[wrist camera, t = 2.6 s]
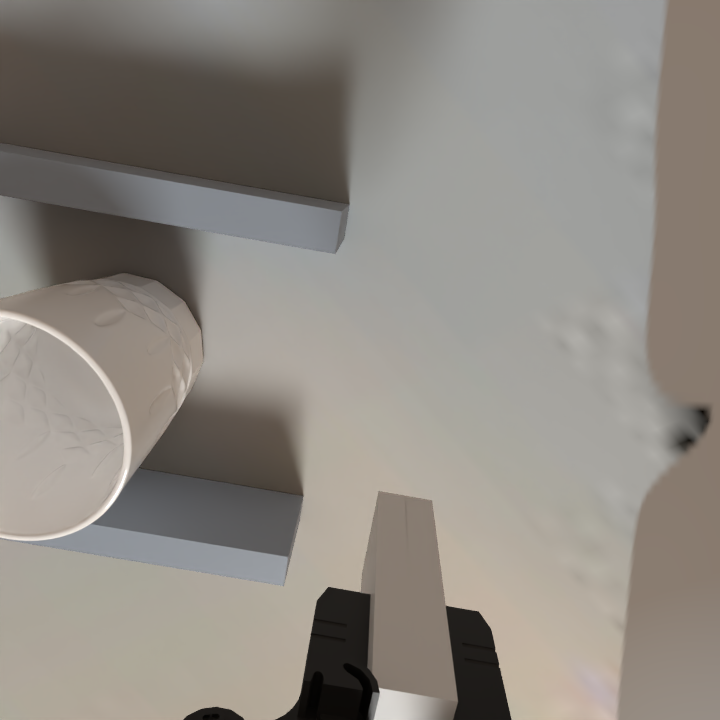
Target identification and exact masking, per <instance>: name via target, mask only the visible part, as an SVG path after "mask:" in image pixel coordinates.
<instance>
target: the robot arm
mask: <svg viewBox="0 0 720 720" xmlns="http://www.w3.org/2000/svg"><path fill="white" fill-rule="evenodd" d="M184 720H244V719H243V717H241V716H239V715H238V714H236V713H235V712H233V711H232V710H229V709H224V708H219V707H212V708H204V709H200V710H198V711H196V712H194V713H192V714H190V715H188V716H186V718H185V719H184ZM276 720H511V716H510V711H509V707H508V702H507V698H506V693H505V689H504V685H503V680H502V676H501V671H500V668H499V662H498V658H497V653H496V652H495V644H494V640H493V635H492V631H491V629H490V627H489V626H488V624H487V623H486V621H485V620H484V619H483V617H482V616H481V614H480V613H479V612H478V611H472V610H466V609H460V608H455V607H449V606H446V605H445V597H444V589H443V582H442V574H441V566H440V559H439V551H438V543H437V535H436V528H435V520H434V512H433V505H432V500H426V499H421V498H415V497H409V496H403V495H398V494H392V493H386V492H381V491H379V492H378V497H377V502H376V507H375V512H374V517H373V522H372V527H371V532H370V537H369V542H368V547H367V552H366V557H365V561H364V566H363V571H362V583H361V593H360V592H354V591H348V590H343V589H337V588H331V587H328V588H327V589H326V591H325V592H324V593H323V594H322V595H321V597H320V598H319V599H318V600H317V603H316V609H315V615H314V620H313V626H312V632H311V637H310V643H309V648H308V654H307V660H306V666H305V672H304V677H303V683H302V689H301V694H300V697H299V700H298V701H297V703H296V704H295V706H294V707H293V708H292V709H291V710H290V711H289V712H288V713H287V714H285V715H284V716H282V717H280V718H278V719H276Z"/></svg>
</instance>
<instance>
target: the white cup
mask: <svg viewBox="0 0 720 720" xmlns="http://www.w3.org/2000/svg"><path fill="white" fill-rule="evenodd" d="M202 364H203V349H202V336H201V329H200V328H199V326H198V324H197V322H196V320H195V319H194V317H193V315H192V313H191V312H190V310H189V308H188V306H187V304H186V303H185V301H184V300H182V299H181V298H180V297H178V296H177V295H176V294H174V293H173V292H172V291H170V290H169V289H168V288H166V287H165V286H164V285H162V284H161V283H160V282H158V281H157V280H153V279H148V278H144V277H140V276H136V275H132V274H127V273H120V274H116V275H111V276H107V277H102V278H98V279H93V280H77V281H73V282H69V283H63V284H58V285H54V286H50V287H45V288H39V289H35V290H31V291H27V292H24V293H20V294H16V295H13V296H9V297H5V298H1V299H0V538H5V539H11V540H21V541H39V540H48V539H54V538H59V537H62V536H66V535H69V534H72V533H74V532H76V531H79V530H81V529H83V528H85V527H86V526H88V525H90V524H91V523H93V522H94V521H95V520H97V519H98V518H99V517H101V516H102V515H103V514H104V513H105V512H106V511H107V510H108V509H109V508H110V507H111V505H112V504H113V503H114V502H115V500H116V499H117V497H118V496H119V494H120V493H121V492H122V490H123V489H124V487H125V486H126V485H127V483H128V482H129V480H130V479H131V478H132V476H133V475H134V473H135V472H136V471H137V469H138V468H139V466H140V465H141V464H142V462H143V461H144V460H145V458H146V457H147V455H148V454H149V453H150V451H151V450H152V449H153V447H154V446H155V444H156V443H157V442H158V440H159V439H160V437H161V436H162V435H163V433H164V432H165V430H166V429H167V427H168V425H169V424H170V422H171V421H172V419H173V418H174V416H175V415H176V413H177V412H178V410H179V408H180V407H181V405H182V403H183V401H184V399H185V397H186V396H187V395H188V393H189V392H190V391H191V389H192V387H193V385H194V383H195V380H196V378H197V376H198V373H199V371H200V369H201V366H202Z"/></svg>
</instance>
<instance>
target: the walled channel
mask: <svg viewBox="0 0 720 720" xmlns="http://www.w3.org/2000/svg"><path fill="white" fill-rule="evenodd" d="M0 195H2V196H8V197H13V198H19V199H25V200H31V201H36V202H42V203H48V204H53V205H59V206H65V207H71V208H76V209H82V210H88V211H93V212H99V213H105V214H111V215H116V216H122V217H128V218H133V219H139V220H145V221H150V222H156V223H162V224H168V225H173V226H179V227H185V228H190V229H196V230H202V231H208V232H213V233H219V234H225V235H230V236H236V237H242V238H248V239H253V240H259V241H265V242H270V243H276V244H282V245H287V246H293V247H299V248H305V249H310V250H316V251H322V252H327V253H333V254H336V252H337V250H338V248H339V247H340V245H341V243H342V242H343V240H344V236H345V230H346V224H347V217H348V211H349V205H350V204H345V203H339V202H333V201H328V200H322V199H316V198H311V197H305V196H299V195H294V194H288V193H282V192H277V191H271V190H265V189H260V188H254V187H248V186H243V185H237V184H231V183H226V182H220V181H214V180H209V179H203V178H197V177H192V176H186V175H180V174H175V173H169V172H163V171H158V170H152V169H146V168H141V167H135V166H129V165H124V164H118V163H112V162H107V161H101V160H95V159H90V158H84V157H78V156H73V155H67V154H61V153H56V152H50V151H44V150H39V149H33V148H27V147H22V146H16V145H10V144H5V143H0ZM302 502H303V496H300V495H294V494H288V493H283V492H277V491H271V490H265V489H259V488H253V487H247V486H241V485H235V484H229V483H223V482H217V481H211V480H206V479H200V478H194V477H188V476H182V475H176V474H170V473H164V472H158V471H152V470H146V469H140V468H138V469H137V471H136V472H135V473H134V475H133V476H132V478H131V479H130V480H129V482H128V483H127V485H126V486H125V487H124V489H123V490H122V492H121V493H120V494H119V496H118V497H117V499H116V500H115V502H114V503H113V504H112V505H111V507H110V508H109V509H108V510H107V511H106V512H105V513H104V514H103V515H102V516H101V517H99V518H98V519H97V520H95V521H94V522H93V523H91V524H90V525H88V526H86V527H85V528H83V529H81V530H79V531H76V532H74V533H72V534H69V535H66V536H62V537H59V538H54V539H48V540H39V541H21V540H11V539H5V538H0V539H4V540H10V541H16V542H22V543H28V544H34V545H40V546H46V547H52V548H58V549H64V550H70V551H76V552H82V553H88V554H94V555H100V556H106V557H112V558H118V559H124V560H130V561H136V562H142V563H148V564H154V565H160V566H166V567H172V568H178V569H184V570H190V571H196V572H202V573H208V574H214V575H220V576H226V577H232V578H238V579H244V580H250V581H256V582H262V583H268V584H274V585H280V586H284V583H285V579H286V575H287V571H288V567H289V562H290V558H291V554H292V550H293V546H294V542H295V538H296V533H297V529H298V525H299V521H300V514H301V508H302Z"/></svg>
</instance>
